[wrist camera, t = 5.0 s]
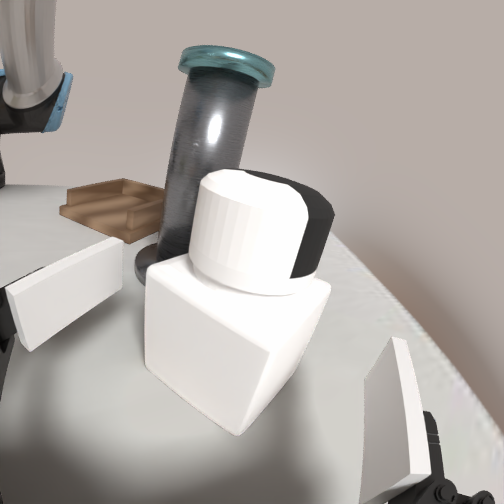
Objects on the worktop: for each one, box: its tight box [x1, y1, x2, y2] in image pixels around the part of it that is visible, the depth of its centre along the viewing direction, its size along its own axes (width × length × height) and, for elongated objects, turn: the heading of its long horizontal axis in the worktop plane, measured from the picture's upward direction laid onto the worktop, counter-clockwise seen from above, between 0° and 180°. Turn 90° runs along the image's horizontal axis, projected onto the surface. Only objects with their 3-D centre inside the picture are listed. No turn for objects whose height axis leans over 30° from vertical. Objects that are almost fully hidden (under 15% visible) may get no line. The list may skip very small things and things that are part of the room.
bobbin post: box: [135, 45, 275, 287], centre depth 23 cm, size 10×10×20 cm
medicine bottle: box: [144, 168, 335, 436], centre depth 14 cm, size 7×7×12 cm
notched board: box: [60, 179, 164, 244], centre depth 36 cm, size 14×14×4 cm
